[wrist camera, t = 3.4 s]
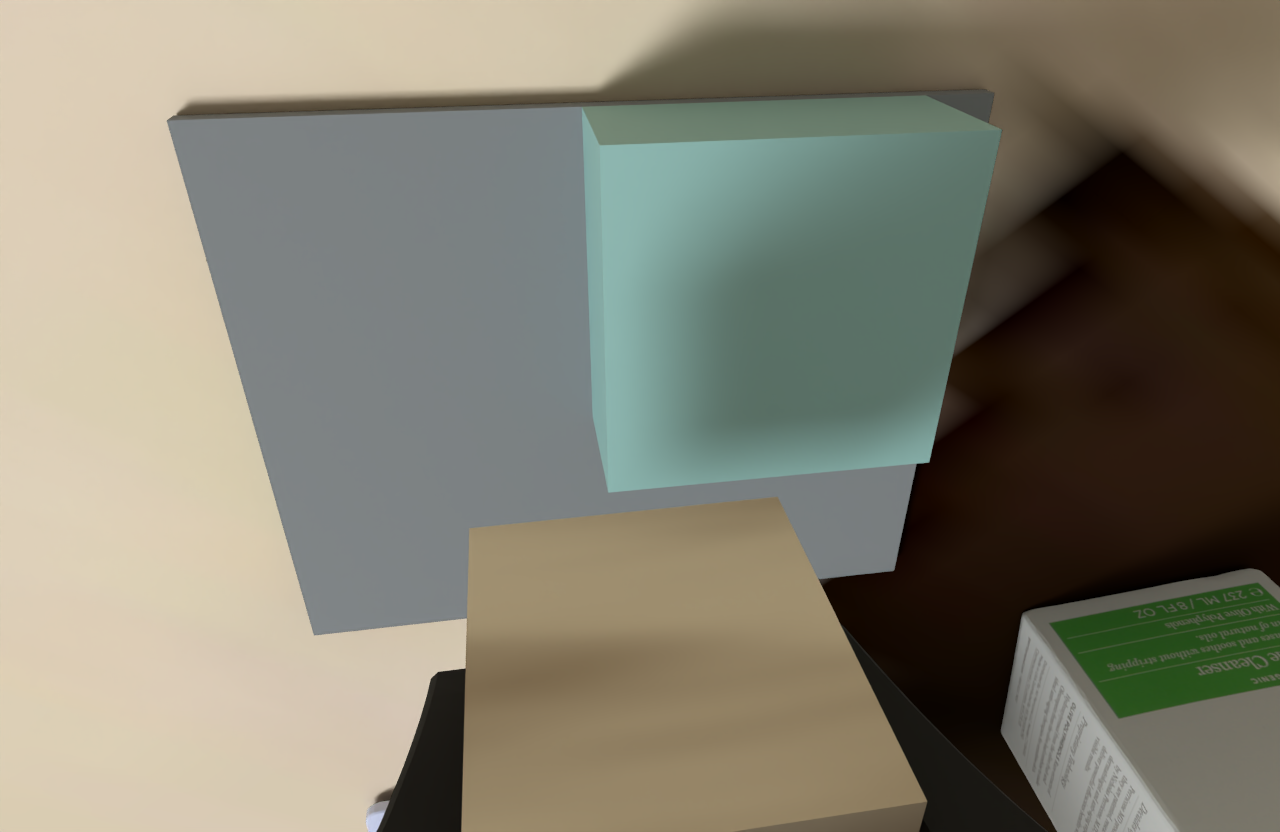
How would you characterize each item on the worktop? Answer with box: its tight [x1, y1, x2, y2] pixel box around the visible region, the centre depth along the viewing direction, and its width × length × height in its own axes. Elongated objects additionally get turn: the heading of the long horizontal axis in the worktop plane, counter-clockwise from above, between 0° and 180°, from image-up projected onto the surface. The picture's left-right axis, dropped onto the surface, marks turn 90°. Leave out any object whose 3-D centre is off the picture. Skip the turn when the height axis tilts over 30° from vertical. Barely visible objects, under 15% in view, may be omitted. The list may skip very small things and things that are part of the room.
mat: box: [167, 89, 994, 635], centre depth 20 cm, size 13×16×1 cm
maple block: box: [461, 497, 927, 832], centre depth 11 cm, size 4×4×5 cm
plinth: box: [582, 95, 1002, 493], centre depth 17 cm, size 7×7×3 cm
